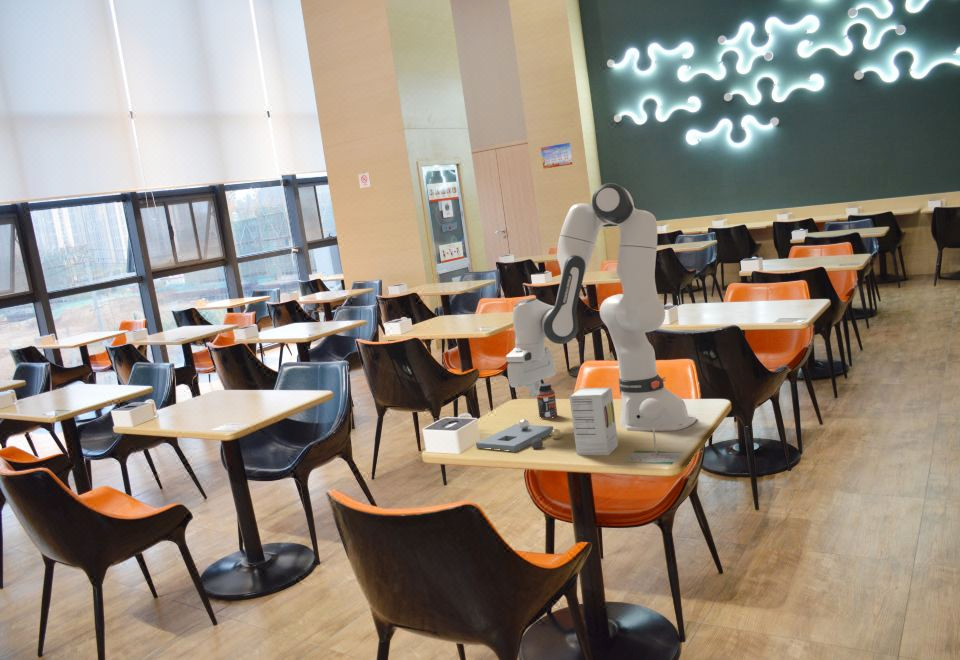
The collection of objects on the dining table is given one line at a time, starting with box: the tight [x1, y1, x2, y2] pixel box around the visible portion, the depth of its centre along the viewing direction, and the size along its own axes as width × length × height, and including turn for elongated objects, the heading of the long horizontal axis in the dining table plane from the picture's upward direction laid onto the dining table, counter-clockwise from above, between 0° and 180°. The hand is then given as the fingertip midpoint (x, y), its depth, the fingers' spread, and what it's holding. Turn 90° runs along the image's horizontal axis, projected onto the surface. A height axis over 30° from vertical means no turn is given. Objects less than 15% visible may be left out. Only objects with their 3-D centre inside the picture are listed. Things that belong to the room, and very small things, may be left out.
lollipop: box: [639, 398, 663, 455], centre depth 207 cm, size 6×6×15 cm
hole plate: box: [475, 423, 554, 452], centre depth 237 cm, size 20×14×2 cm
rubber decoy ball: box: [531, 439, 544, 450], centre depth 227 cm, size 3×3×3 cm
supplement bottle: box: [536, 382, 558, 419], centre depth 260 cm, size 6×6×11 cm
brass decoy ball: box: [550, 428, 563, 440], centre depth 234 cm, size 3×3×3 cm
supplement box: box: [569, 386, 619, 456], centre depth 217 cm, size 10×9×17 cm
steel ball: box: [518, 419, 530, 430], centre depth 240 cm, size 3×3×3 cm
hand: (534, 395), depth 246 cm, fingers closed
